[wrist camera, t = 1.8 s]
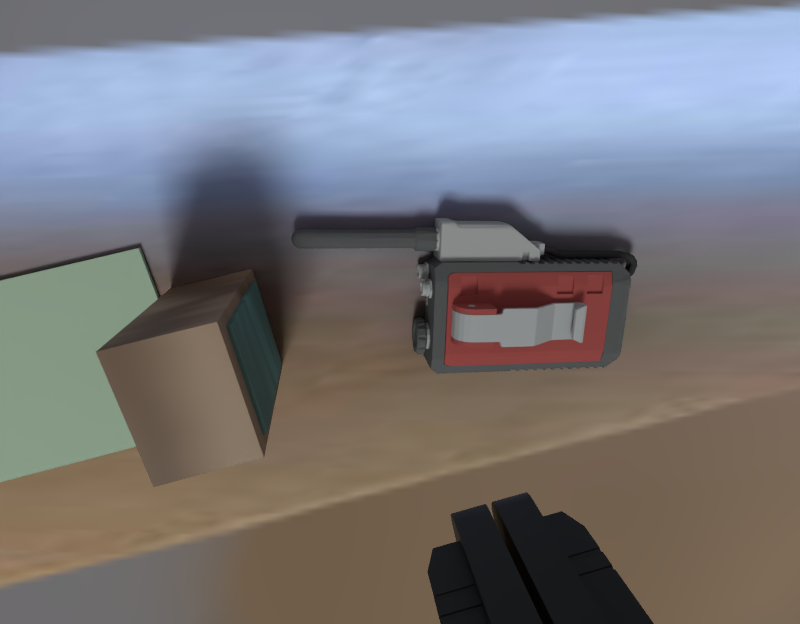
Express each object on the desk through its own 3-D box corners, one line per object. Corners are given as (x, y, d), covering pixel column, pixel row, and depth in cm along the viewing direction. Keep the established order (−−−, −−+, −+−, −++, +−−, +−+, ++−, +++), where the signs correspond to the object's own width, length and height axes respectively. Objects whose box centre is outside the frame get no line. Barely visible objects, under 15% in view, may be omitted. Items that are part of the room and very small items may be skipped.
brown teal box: (255, 267, 29) (222, 320, 20) (285, 364, 31) (268, 456, 21) (170, 288, 29) (95, 351, 19) (206, 384, 31) (153, 487, 21)
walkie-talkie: (628, 218, 32) (292, 215, 29) (674, 226, 28) (287, 225, 25) (609, 354, 34) (297, 363, 31) (649, 381, 30) (293, 395, 27)
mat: (140, 247, 28) (138, 248, 28) (207, 425, 31) (206, 428, 31) (-93, 301, 27) (-97, 303, 27) (1, 479, 30) (-2, 482, 30)
